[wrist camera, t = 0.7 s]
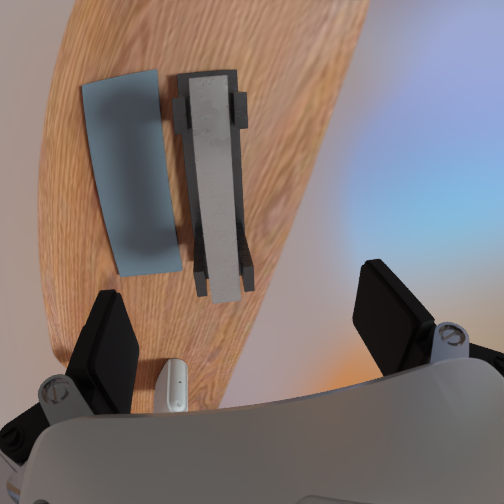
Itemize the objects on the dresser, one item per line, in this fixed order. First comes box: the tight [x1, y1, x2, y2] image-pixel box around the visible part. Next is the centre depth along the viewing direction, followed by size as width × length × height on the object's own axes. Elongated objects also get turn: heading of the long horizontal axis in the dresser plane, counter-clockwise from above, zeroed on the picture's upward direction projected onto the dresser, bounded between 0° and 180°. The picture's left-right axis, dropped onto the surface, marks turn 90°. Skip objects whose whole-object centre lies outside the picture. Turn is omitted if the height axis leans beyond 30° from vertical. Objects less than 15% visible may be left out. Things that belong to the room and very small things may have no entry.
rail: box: [189, 75, 241, 304], centre depth 28 cm, size 22×3×2 cm, turn 2°
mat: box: [82, 69, 182, 277], centre depth 34 cm, size 26×9×1 cm, turn 2°
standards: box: [172, 70, 254, 297], centre depth 31 cm, size 24×6×11 cm, turn 2°
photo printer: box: [153, 358, 188, 413], centre depth 47 cm, size 10×4×12 cm, turn 152°
